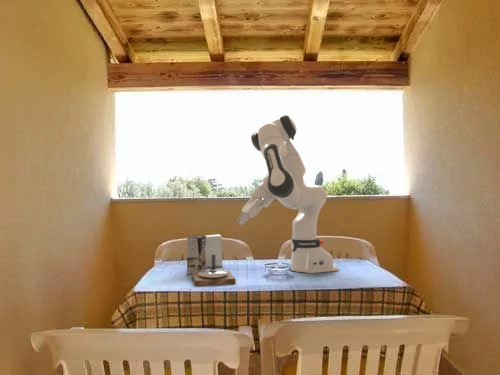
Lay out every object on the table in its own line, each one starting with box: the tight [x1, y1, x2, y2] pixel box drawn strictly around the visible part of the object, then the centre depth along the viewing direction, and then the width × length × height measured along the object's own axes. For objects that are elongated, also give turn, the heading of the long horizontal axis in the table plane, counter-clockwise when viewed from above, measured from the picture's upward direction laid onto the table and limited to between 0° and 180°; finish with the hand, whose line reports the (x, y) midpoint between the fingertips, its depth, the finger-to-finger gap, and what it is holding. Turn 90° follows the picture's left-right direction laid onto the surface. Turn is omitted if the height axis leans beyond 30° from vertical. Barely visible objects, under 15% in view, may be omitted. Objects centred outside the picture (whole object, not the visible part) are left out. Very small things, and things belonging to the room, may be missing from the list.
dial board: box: [191, 270, 237, 287], centre depth 186 cm, size 16×15×2 cm
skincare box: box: [203, 233, 223, 268], centre depth 216 cm, size 8×6×15 cm
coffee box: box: [186, 234, 207, 275], centre depth 202 cm, size 9×6×16 cm
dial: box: [199, 254, 229, 279], centre depth 185 cm, size 12×12×8 cm
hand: (239, 223), depth 185 cm, fingers open, 8 cm apart
